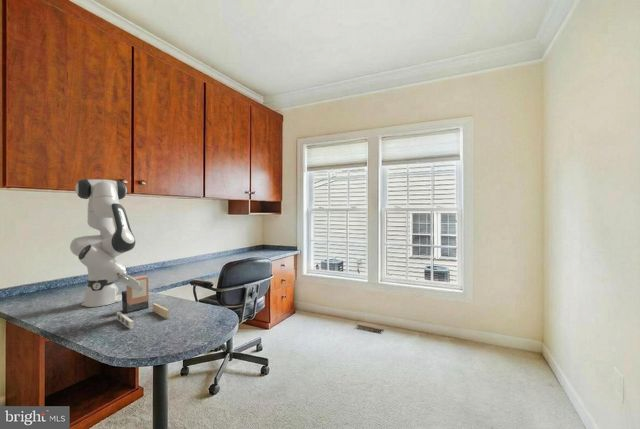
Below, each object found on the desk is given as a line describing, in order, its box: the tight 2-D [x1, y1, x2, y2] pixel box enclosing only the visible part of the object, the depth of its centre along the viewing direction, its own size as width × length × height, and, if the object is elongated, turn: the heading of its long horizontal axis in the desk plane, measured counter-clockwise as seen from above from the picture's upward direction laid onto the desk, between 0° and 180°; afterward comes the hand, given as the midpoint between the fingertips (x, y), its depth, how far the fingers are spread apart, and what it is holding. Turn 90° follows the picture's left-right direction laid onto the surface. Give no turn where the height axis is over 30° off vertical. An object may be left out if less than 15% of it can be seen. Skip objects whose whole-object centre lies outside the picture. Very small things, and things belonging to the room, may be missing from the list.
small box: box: [121, 290, 149, 314], centre depth 152 cm, size 11×6×10 cm, turn 141°
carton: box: [125, 275, 150, 305], centre depth 142 cm, size 5×8×12 cm, turn 139°
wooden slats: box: [116, 302, 170, 330], centre depth 138 cm, size 20×16×4 cm
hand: (139, 288), depth 142 cm, fingers closed on carton, 5 cm apart
